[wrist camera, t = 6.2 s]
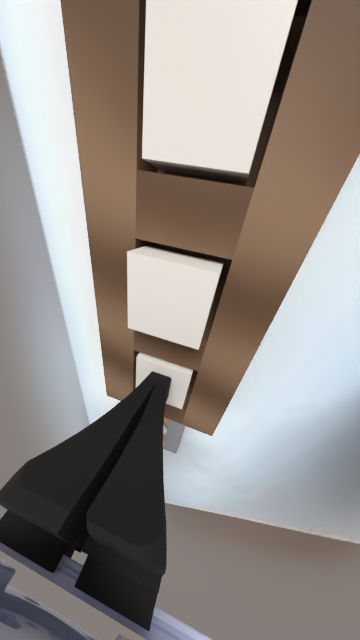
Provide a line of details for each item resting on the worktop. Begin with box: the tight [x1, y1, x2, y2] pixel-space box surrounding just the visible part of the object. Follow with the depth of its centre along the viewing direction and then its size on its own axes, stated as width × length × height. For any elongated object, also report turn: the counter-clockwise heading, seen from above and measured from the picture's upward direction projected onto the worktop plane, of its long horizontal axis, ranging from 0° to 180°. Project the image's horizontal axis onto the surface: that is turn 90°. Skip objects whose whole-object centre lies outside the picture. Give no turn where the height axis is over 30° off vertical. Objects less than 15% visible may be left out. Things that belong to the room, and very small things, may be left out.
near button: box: [142, 0, 298, 183], centre depth 5 cm, size 4×4×2 cm
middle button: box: [127, 246, 223, 350], centre depth 8 cm, size 4×4×2 cm
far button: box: [136, 352, 193, 409], centre depth 12 cm, size 4×4×2 cm
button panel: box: [61, 0, 360, 436], centre depth 9 cm, size 21×9×2 cm, turn 171°
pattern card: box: [163, 418, 185, 453], centre depth 19 cm, size 9×5×1 cm, turn 171°
